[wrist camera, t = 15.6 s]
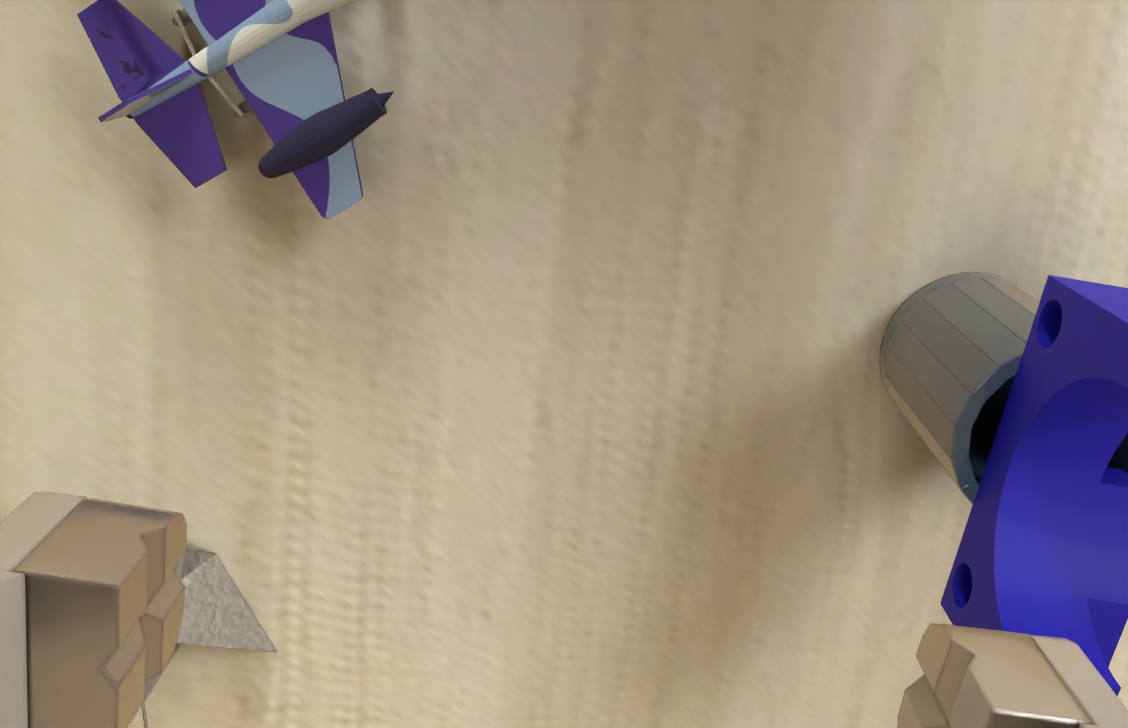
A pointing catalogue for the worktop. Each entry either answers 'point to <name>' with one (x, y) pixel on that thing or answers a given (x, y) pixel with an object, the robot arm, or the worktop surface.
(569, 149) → the worktop surface
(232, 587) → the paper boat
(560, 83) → the worktop surface
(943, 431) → the tumbler
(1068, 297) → the blue half clamp bracket
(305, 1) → the toy airplane
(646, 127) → the worktop surface
